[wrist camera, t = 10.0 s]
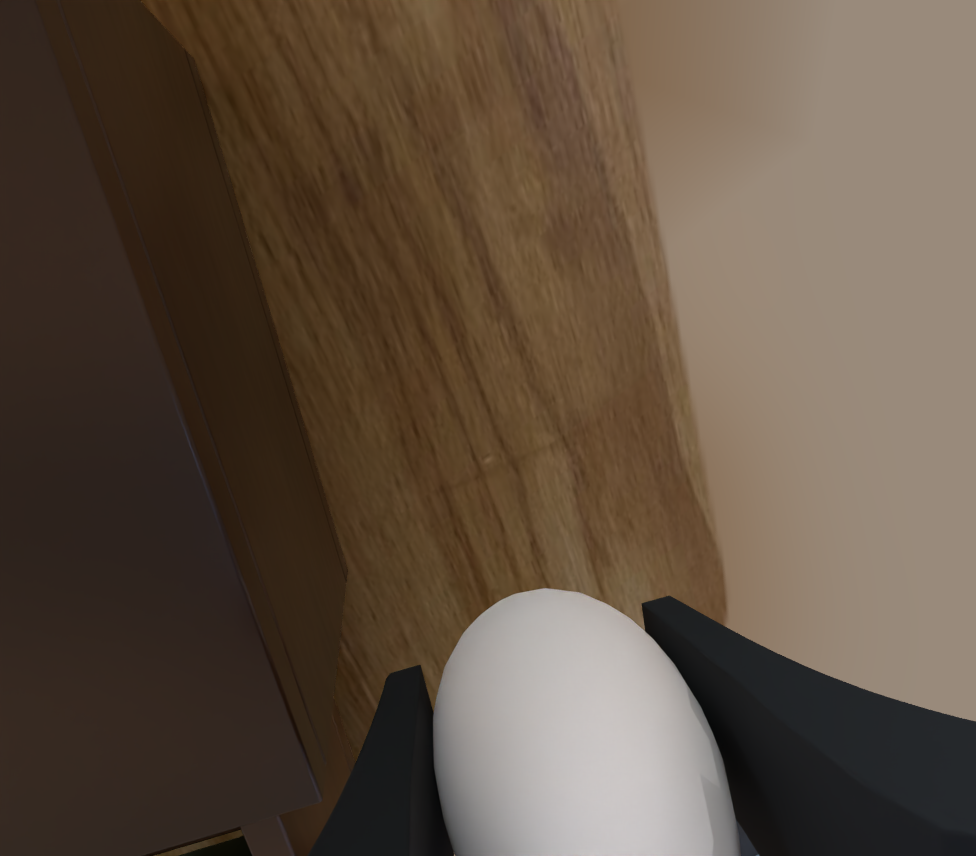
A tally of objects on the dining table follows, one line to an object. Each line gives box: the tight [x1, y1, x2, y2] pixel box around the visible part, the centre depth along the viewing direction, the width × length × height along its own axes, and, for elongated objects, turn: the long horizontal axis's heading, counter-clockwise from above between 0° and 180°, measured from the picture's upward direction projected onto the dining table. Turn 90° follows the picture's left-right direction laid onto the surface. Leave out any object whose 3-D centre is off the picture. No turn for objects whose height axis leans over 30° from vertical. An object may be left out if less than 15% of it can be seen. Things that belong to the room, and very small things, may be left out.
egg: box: [433, 588, 741, 856], centre depth 10 cm, size 5×5×7 cm
